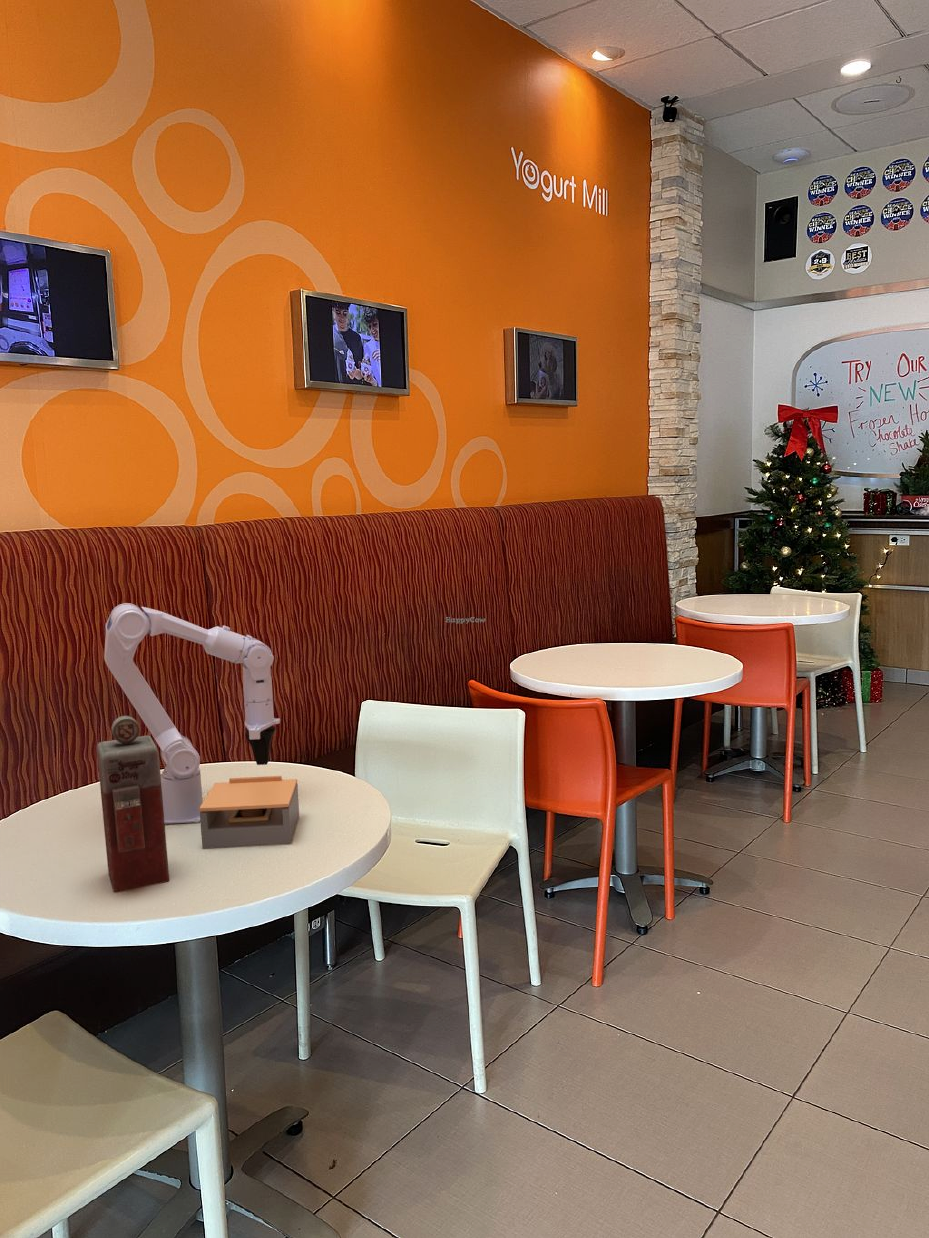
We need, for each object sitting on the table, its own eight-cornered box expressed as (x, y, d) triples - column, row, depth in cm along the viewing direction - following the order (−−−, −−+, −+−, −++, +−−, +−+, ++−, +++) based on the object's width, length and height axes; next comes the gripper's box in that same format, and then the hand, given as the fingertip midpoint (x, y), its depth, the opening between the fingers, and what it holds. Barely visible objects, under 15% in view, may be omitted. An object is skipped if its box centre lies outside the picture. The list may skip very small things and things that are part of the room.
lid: (199, 811, 170) (198, 804, 169) (214, 785, 183) (214, 778, 183) (288, 807, 170) (288, 799, 170) (297, 781, 184) (296, 774, 184)
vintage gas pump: (114, 898, 152) (98, 730, 147) (108, 872, 162) (93, 714, 157) (171, 886, 155) (158, 722, 151) (162, 861, 165) (148, 707, 161)
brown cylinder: (240, 836, 176) (238, 805, 175) (244, 828, 180) (242, 798, 179) (262, 835, 176) (260, 804, 175) (265, 827, 180) (263, 797, 179)
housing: (202, 848, 171) (199, 812, 170) (217, 820, 185) (215, 787, 183) (290, 843, 172) (288, 808, 171) (299, 816, 185) (297, 783, 184)
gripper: (273, 707, 183) (277, 774, 185) (283, 690, 198) (286, 752, 200) (236, 708, 183) (241, 775, 185) (249, 691, 197) (253, 753, 199)
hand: (262, 763), depth 192 cm, fingers closed
